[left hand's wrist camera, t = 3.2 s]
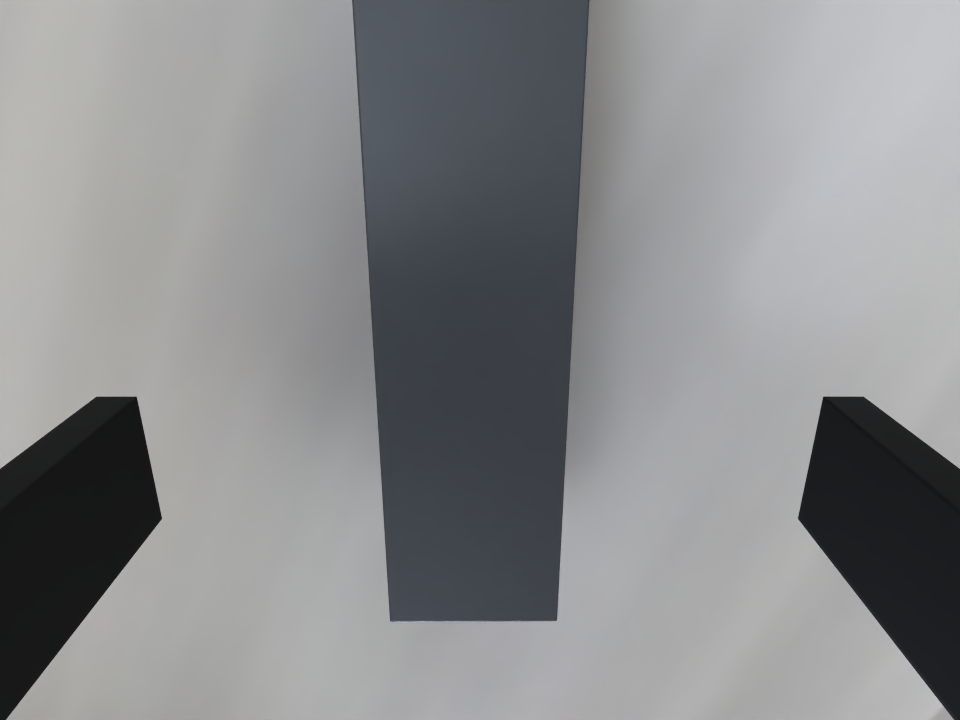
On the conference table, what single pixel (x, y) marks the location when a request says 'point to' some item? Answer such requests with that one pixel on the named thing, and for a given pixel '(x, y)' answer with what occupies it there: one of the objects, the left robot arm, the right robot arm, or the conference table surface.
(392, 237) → the beam
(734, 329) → the conference table surface
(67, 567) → the left robot arm
